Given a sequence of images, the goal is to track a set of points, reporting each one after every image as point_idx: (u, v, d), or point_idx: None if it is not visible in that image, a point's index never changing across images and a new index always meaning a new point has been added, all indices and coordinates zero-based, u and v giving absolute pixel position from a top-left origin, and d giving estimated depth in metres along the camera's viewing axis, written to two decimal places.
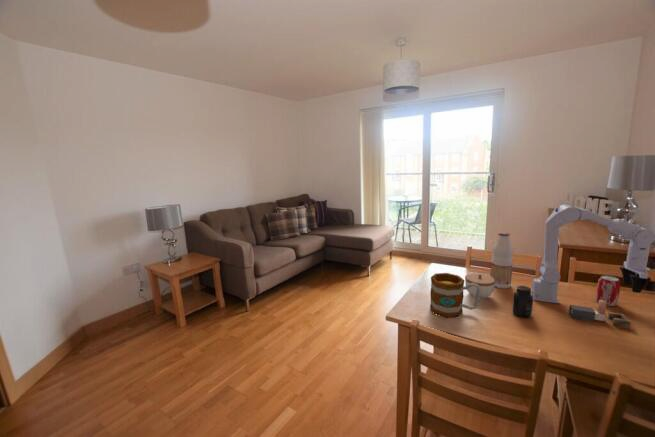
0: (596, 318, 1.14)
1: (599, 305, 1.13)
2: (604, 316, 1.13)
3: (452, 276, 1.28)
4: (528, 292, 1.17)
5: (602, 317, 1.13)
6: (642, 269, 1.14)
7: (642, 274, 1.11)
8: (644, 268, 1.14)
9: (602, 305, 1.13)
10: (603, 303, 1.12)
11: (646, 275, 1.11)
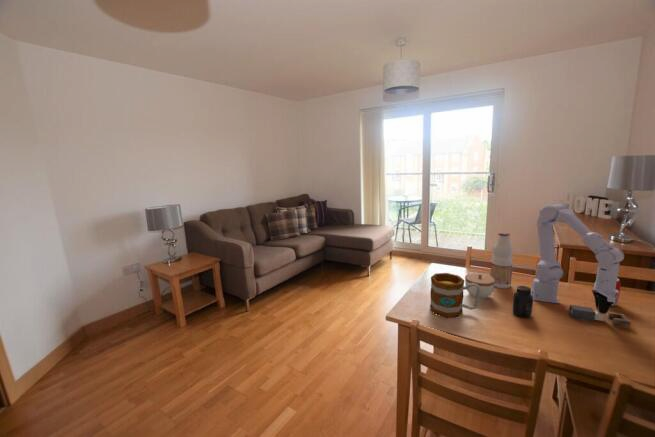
0: (596, 318, 1.14)
1: None
2: (604, 316, 1.13)
3: (452, 276, 1.28)
4: (528, 292, 1.17)
5: (602, 317, 1.13)
6: (611, 292, 1.09)
7: (610, 298, 1.06)
8: (613, 291, 1.09)
9: None
10: None
11: (614, 299, 1.06)
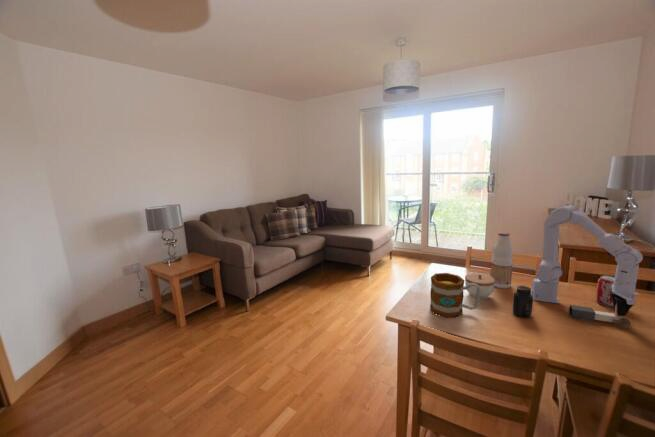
0: None
1: (616, 307, 1.11)
2: None
3: (452, 276, 1.28)
4: (528, 292, 1.17)
5: None
6: (630, 294, 1.07)
7: (630, 300, 1.04)
8: (632, 293, 1.07)
9: None
10: None
11: (634, 301, 1.03)
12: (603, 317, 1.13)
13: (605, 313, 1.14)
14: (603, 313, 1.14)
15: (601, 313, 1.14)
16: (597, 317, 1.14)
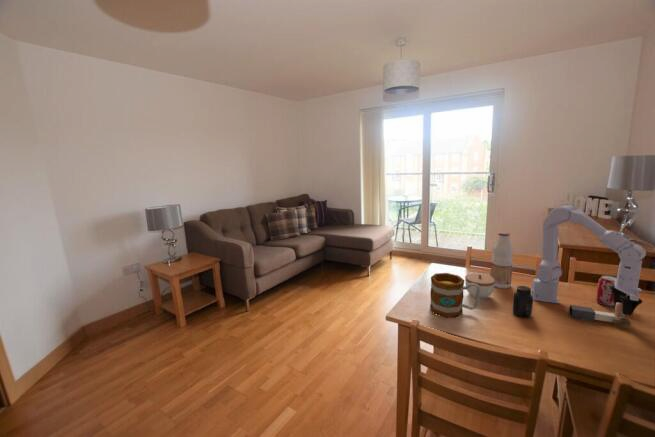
0: None
1: (616, 307, 1.11)
2: None
3: (452, 276, 1.28)
4: (528, 292, 1.17)
5: None
6: (633, 290, 1.06)
7: (633, 296, 1.03)
8: (635, 289, 1.06)
9: (619, 307, 1.10)
10: (620, 305, 1.10)
11: (637, 297, 1.03)
12: (603, 317, 1.13)
13: (605, 313, 1.14)
14: (603, 313, 1.14)
15: (601, 313, 1.14)
16: (597, 317, 1.14)
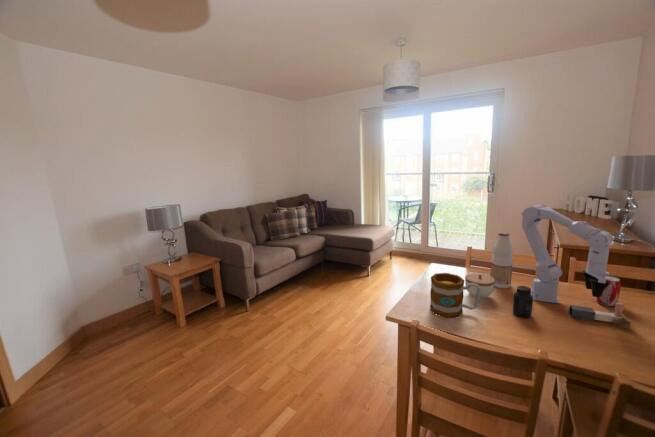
0: None
1: (616, 307, 1.11)
2: None
3: (452, 276, 1.28)
4: (528, 292, 1.17)
5: None
6: (601, 273, 1.13)
7: (600, 279, 1.10)
8: (603, 272, 1.13)
9: (619, 307, 1.10)
10: (620, 305, 1.10)
11: (604, 280, 1.10)
12: (603, 317, 1.13)
13: (605, 313, 1.14)
14: (603, 313, 1.14)
15: (601, 313, 1.14)
16: (597, 317, 1.14)
